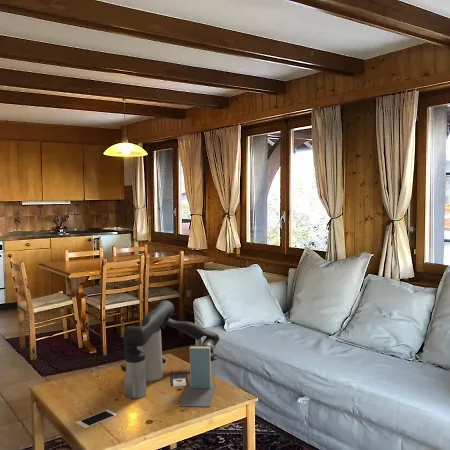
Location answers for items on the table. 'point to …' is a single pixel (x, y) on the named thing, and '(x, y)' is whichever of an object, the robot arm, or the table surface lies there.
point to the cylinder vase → (153, 357)
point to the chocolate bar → (179, 379)
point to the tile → (200, 367)
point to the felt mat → (197, 396)
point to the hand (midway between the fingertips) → (202, 362)
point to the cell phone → (96, 418)
